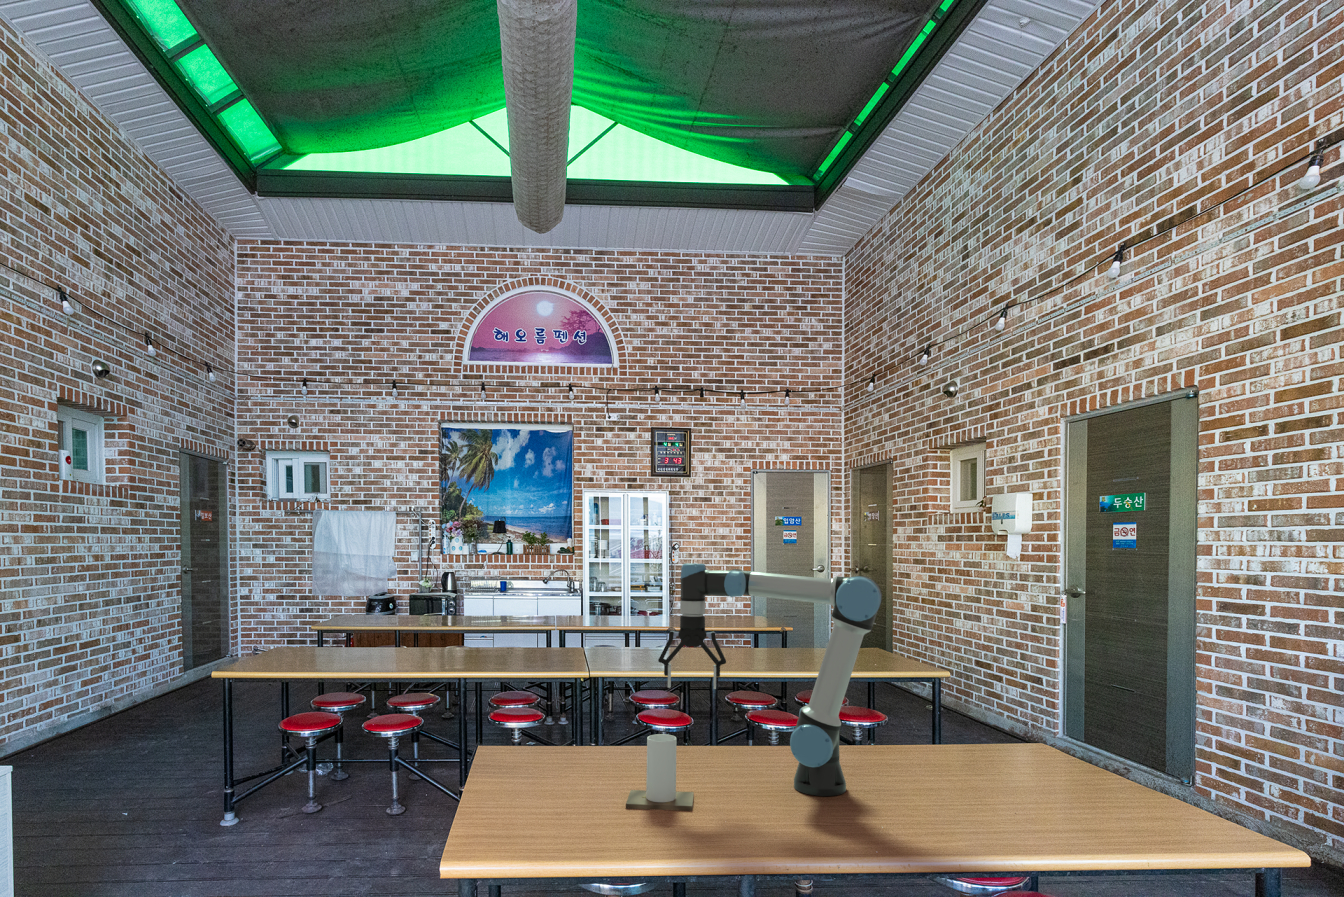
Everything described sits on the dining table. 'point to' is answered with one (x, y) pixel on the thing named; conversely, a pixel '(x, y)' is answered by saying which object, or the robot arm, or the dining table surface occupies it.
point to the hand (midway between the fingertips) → (691, 687)
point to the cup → (661, 768)
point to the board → (641, 802)
